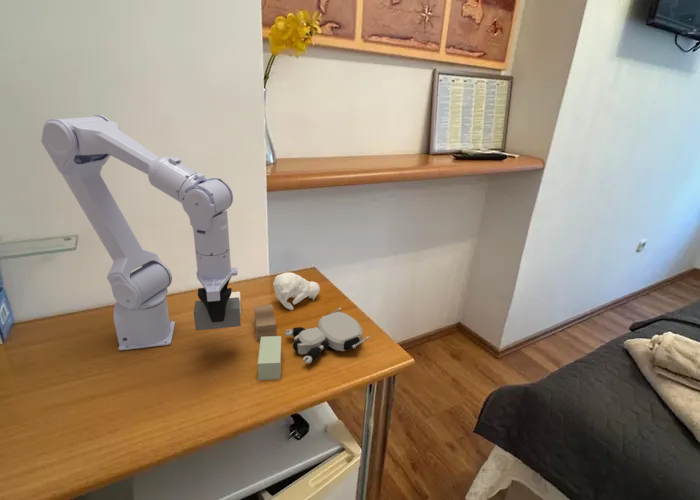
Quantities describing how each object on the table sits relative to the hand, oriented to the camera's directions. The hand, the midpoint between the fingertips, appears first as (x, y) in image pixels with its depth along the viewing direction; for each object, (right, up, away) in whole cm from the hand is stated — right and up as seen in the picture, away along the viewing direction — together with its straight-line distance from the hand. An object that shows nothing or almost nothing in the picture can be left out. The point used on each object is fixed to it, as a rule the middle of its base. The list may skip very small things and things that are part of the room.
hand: (218, 314), depth 74 cm
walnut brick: (+6, -6, +12) cm, 15 cm away
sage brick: (+10, -10, +2) cm, 14 cm away
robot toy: (+20, -8, +9) cm, 23 cm away
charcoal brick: (0, -2, +1) cm, 2 cm away
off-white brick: (-5, -2, +18) cm, 18 cm away
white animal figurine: (+12, -1, +23) cm, 26 cm away
